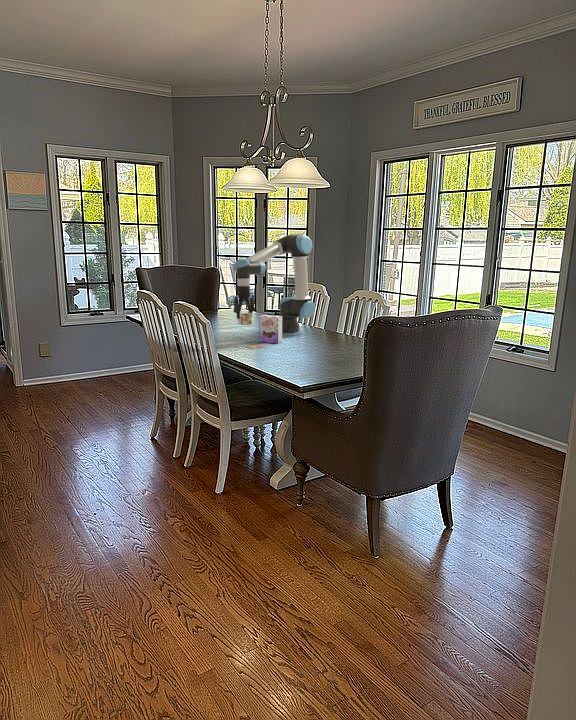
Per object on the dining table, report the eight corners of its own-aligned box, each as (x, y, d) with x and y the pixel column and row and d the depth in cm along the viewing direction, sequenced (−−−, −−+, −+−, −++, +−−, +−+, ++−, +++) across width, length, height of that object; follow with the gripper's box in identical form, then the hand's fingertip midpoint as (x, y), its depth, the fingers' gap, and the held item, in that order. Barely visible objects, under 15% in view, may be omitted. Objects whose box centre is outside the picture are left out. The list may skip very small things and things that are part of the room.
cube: (246, 323, 326) (246, 313, 324) (251, 324, 321) (251, 314, 320) (237, 324, 322) (237, 314, 321) (243, 325, 317) (242, 315, 316)
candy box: (258, 342, 331) (258, 315, 327) (263, 340, 336) (263, 314, 332) (278, 344, 325) (277, 317, 321) (282, 342, 330) (282, 316, 326)
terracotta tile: (255, 345, 321) (255, 344, 321) (261, 347, 316) (261, 346, 316) (245, 346, 317) (245, 346, 317) (252, 348, 312) (252, 348, 312)
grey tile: (266, 343, 326) (266, 342, 326) (272, 345, 321) (272, 344, 321) (256, 345, 322) (256, 344, 322) (263, 347, 316) (263, 346, 316)
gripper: (253, 283, 324) (254, 321, 330) (226, 285, 313) (227, 324, 319) (260, 284, 319) (261, 322, 324) (233, 286, 307) (234, 326, 313)
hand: (244, 323), depth 321 cm, fingers closed on cube, 6 cm apart
